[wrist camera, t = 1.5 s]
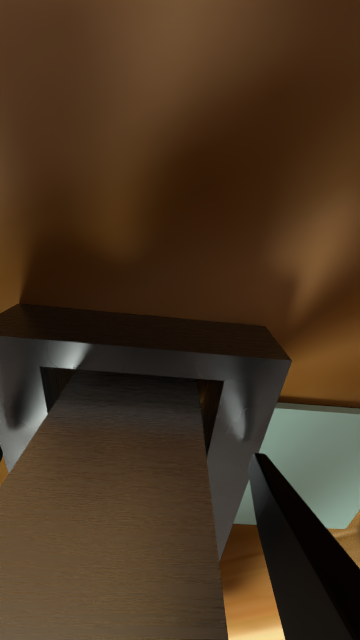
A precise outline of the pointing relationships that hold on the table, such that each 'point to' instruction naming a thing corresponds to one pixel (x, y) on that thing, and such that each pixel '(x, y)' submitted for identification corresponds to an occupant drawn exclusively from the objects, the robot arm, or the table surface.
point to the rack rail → (149, 359)
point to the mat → (314, 460)
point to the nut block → (112, 518)
